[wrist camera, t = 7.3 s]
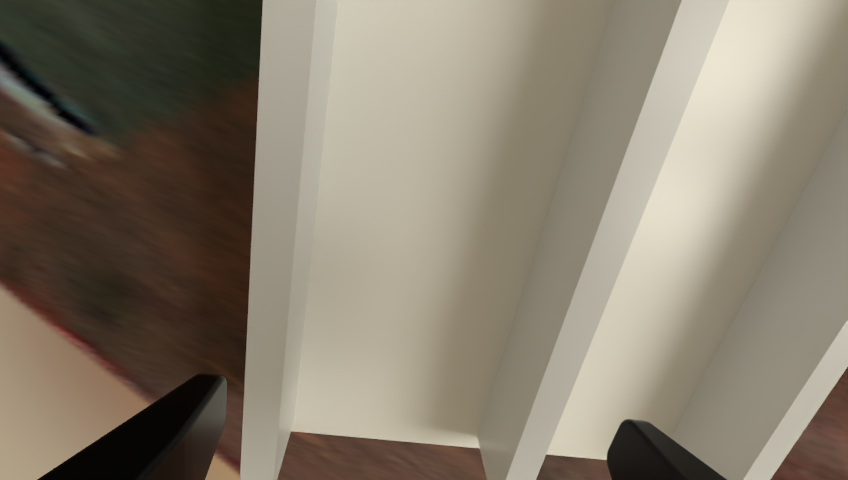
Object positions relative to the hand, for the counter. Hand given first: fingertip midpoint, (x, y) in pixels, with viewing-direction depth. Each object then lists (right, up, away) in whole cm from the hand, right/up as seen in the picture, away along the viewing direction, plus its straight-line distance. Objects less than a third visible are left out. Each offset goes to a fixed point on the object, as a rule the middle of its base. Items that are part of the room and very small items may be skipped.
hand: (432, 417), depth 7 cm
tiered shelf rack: (+3, +4, +4) cm, 7 cm away
